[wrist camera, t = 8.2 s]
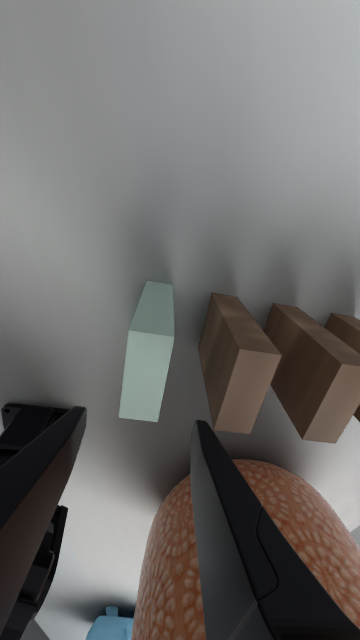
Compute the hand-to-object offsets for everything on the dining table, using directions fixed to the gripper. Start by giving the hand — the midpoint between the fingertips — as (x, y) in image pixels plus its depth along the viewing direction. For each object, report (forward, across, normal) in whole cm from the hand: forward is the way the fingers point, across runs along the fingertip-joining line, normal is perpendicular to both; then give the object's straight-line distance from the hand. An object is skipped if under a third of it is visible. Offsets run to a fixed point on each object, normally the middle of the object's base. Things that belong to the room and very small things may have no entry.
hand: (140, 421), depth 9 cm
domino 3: (+11, -10, 0) cm, 15 cm away
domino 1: (+11, 0, 0) cm, 11 cm away
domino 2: (+11, -5, 0) cm, 12 cm away
